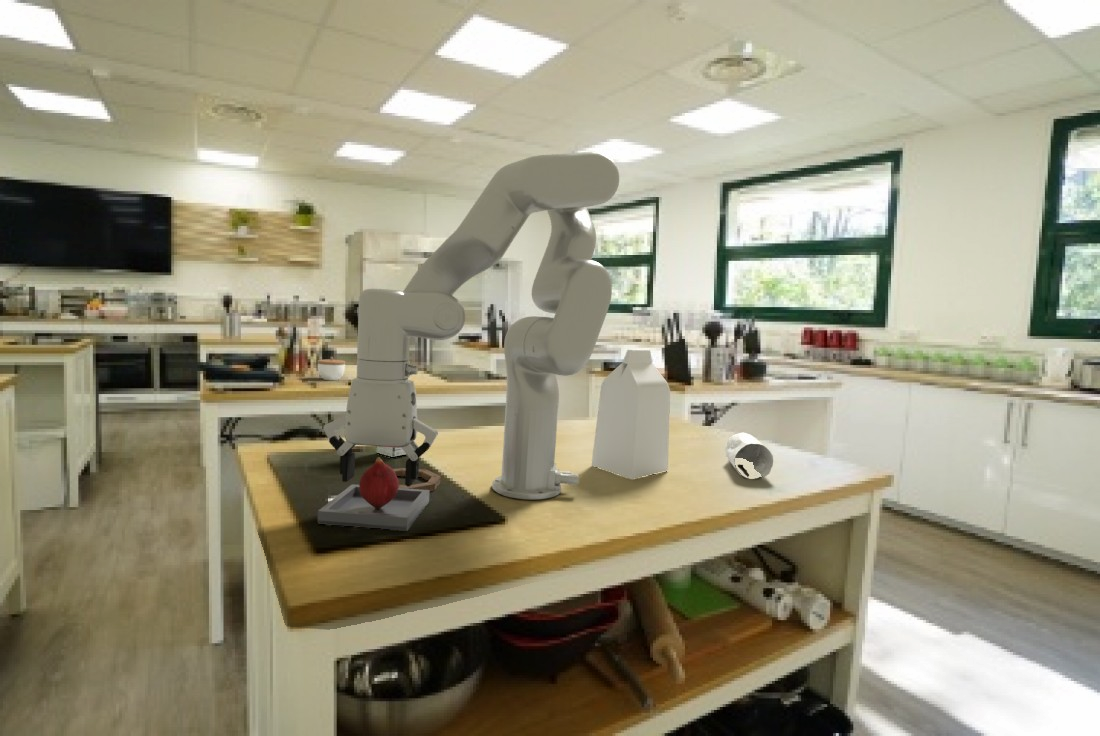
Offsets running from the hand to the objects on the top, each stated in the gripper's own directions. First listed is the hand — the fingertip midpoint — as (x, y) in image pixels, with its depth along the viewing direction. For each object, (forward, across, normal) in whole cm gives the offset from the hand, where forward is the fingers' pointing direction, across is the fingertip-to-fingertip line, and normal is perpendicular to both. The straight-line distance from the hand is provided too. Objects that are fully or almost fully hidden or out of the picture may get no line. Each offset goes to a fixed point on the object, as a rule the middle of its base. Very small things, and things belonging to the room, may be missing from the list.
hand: (379, 481), depth 88 cm
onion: (+4, 0, 0) cm, 5 cm away
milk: (+5, -43, -37) cm, 57 cm away
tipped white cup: (+6, -69, -44) cm, 82 cm away
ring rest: (+5, 0, -15) cm, 16 cm away
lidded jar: (+5, +68, -145) cm, 160 cm away
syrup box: (+5, +8, -35) cm, 36 cm away
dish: (+5, 0, 0) cm, 5 cm away
